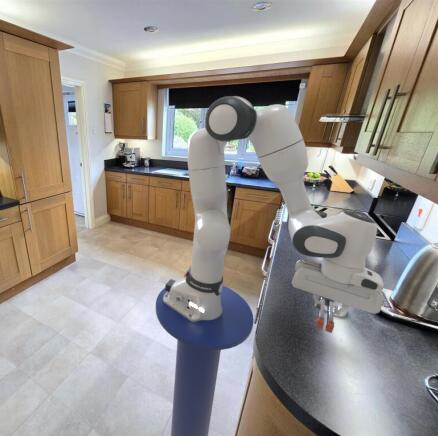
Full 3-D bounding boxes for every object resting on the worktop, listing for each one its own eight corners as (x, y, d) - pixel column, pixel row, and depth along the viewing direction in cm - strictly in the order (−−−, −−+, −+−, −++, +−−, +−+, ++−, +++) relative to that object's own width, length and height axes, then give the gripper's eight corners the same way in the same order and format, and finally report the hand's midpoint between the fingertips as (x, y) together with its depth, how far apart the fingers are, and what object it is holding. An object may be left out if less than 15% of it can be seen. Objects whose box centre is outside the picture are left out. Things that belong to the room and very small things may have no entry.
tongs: (331, 333, 65) (334, 325, 64) (315, 327, 67) (318, 319, 66) (332, 303, 77) (334, 295, 76) (318, 298, 79) (321, 291, 78)
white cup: (337, 320, 83) (346, 296, 80) (316, 305, 90) (322, 283, 87) (353, 315, 86) (362, 291, 82) (331, 301, 93) (338, 279, 89)
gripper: (296, 261, 70) (285, 301, 75) (392, 289, 59) (372, 333, 63) (298, 253, 75) (288, 291, 79) (388, 277, 63) (369, 319, 68)
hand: (326, 310), depth 71 cm, fingers closed on tongs, 3 cm apart
